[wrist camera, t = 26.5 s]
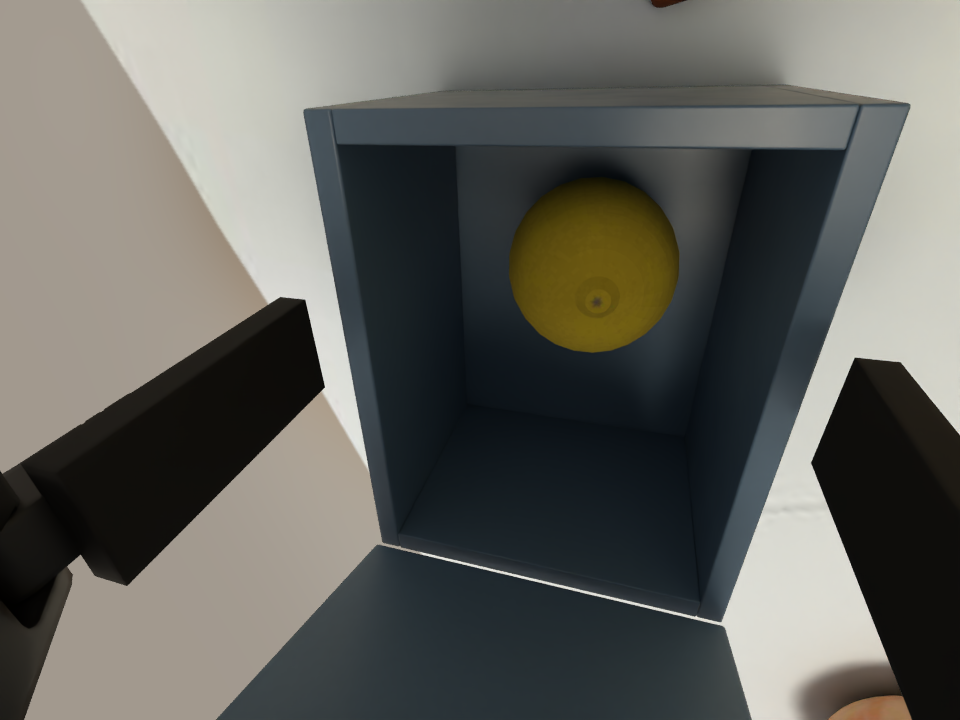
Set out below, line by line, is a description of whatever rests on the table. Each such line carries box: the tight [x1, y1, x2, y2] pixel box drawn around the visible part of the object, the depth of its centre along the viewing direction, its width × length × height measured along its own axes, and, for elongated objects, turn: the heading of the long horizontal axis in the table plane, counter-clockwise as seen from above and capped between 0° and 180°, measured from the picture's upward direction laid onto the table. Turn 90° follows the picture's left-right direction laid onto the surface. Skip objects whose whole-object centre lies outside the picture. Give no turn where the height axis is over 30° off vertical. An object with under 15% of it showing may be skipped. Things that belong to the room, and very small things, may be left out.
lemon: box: [509, 177, 679, 353], centre depth 17 cm, size 6×6×8 cm
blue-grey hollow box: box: [303, 85, 910, 622], centre depth 18 cm, size 16×13×10 cm
